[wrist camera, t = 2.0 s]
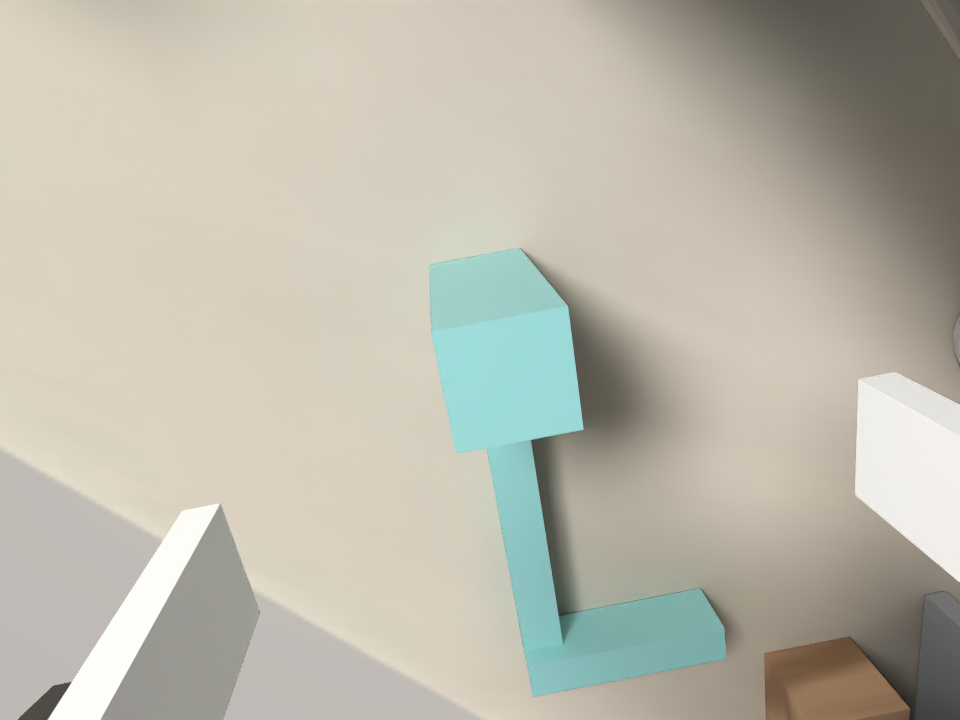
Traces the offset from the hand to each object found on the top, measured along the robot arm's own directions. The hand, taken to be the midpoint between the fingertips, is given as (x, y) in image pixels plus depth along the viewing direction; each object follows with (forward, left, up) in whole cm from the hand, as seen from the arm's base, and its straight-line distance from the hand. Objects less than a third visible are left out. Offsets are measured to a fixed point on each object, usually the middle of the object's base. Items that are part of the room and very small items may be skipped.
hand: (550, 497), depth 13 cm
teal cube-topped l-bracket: (+9, +3, -16) cm, 19 cm away
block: (+26, +15, -16) cm, 34 cm away
